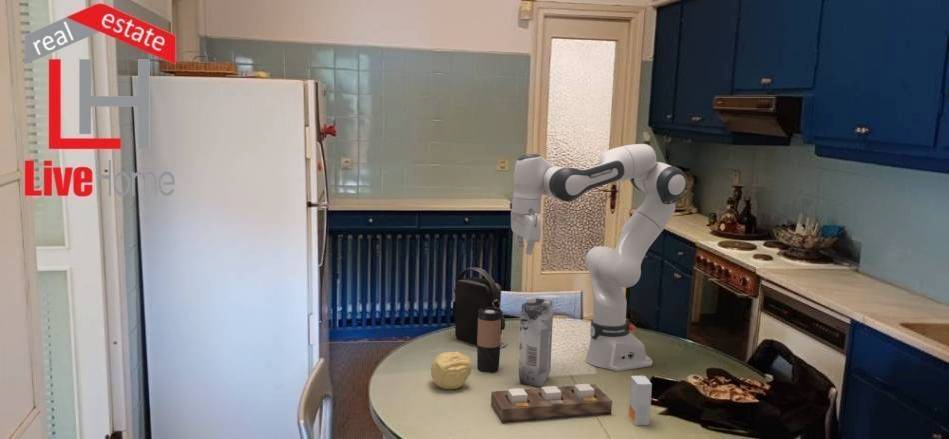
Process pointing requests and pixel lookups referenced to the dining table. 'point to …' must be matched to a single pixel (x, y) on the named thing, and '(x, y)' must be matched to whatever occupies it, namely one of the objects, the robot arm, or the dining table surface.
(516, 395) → the button
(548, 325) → the juice carton
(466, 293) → the shoulder bag
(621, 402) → the dining table surface
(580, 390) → the button
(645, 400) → the skincare box
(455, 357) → the sculpture
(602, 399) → the button board
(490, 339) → the travel mug
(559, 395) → the button middle
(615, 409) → the dining table surface
